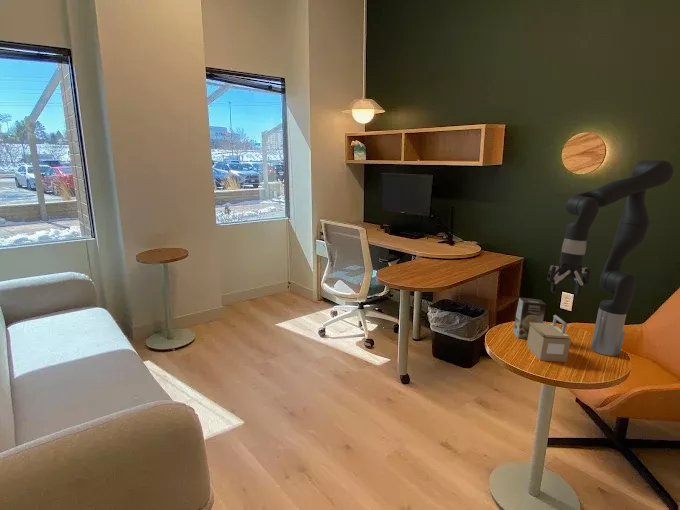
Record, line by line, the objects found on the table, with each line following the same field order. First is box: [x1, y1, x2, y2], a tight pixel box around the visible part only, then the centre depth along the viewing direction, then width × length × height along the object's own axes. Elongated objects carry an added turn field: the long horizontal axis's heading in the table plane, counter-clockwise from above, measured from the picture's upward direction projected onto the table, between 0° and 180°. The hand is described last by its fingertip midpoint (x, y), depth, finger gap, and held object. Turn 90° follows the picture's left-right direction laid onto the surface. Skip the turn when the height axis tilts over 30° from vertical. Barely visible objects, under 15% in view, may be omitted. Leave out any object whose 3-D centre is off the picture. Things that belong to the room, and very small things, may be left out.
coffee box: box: [512, 296, 547, 340], centre depth 175 cm, size 9×6×16 cm
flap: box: [529, 314, 570, 339], centre depth 158 cm, size 10×12×5 cm
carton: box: [526, 325, 572, 363], centre depth 160 cm, size 10×12×9 cm
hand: (564, 293), depth 155 cm, fingers open, 8 cm apart
